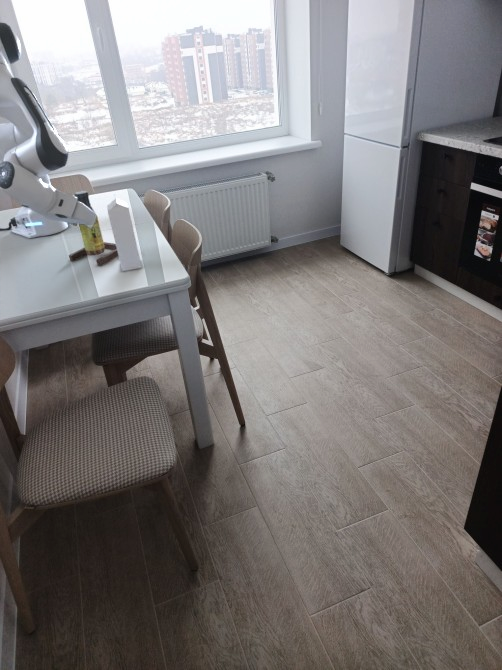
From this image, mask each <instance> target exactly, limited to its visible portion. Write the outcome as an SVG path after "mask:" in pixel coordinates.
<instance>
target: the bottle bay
mask: <svg viewBox="0 0 502 670" xmlns="http://www.w3.org/2000/svg"><path fill="white" fill-rule="evenodd" d="M103 242H104V246H105V247H104V248H105V250H110V252H108V253H106V254H104V255H103V256H101V257H99V258H97V259H95V262H96V265H97V266H98V267H101V266H104V265H105V264H107V263H109V262H110V261H112V260H114V259H116V258H117V257H119V256H118V251H117V247H116V243H115V242H106V241H103ZM86 255H87V253H86V250H85V247H84V246H83V247H82V248H81V249H78V250H77V251H75V252H72V253H71V254H68V258H69V261H70V262H75V261H76V260H78V259H81V258H82V257H84V256H86Z"/></svg>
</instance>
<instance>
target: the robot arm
mask: <svg viewBox="0 0 502 670" xmlns="http://www.w3.org/2000/svg"><path fill="white" fill-rule="evenodd" d="M21 57H22V46H21V42H20V39H19V37H18V35H17V34H16V32H15V31H14V30H13V29H12V27H11V26H10V25H9V24H8V23H5V22H0V118H3V119H6V120H7V121H9V122H3V123H0V162H1V163H0V190H1V191H2V192H3V193H4V194H5V195H6V196H8V197H10V198H11V199H12V200H14V201H16V202H17V203H19V204H21V207H20V209H19V210H18V212H17V213H15V216H14V217H12V218H11V219H10V221H9V222H8V227H6V228H1V227H0V232H1V231H2V232H3V231H10V230H11V232H12V233H14V234H16V235H20V236H22V237H25V238H28V239H34V238H38V237H45V236H50V235H51V236H52V235H55V234H58V233H61V232H63V231H65V230H66V229H68V227H69V225H71V226H73V227H77V226H78V225H79V224H84V226H86V227H88V228H92V226H93V224H94V222H95V219H96V215H97V213H96V212H95V211H94V212H93V211H92V210H91V209H90V208H88V207H87V206H86V205H84V204H83V203H81V202H79V201H77V197H75V194H71V193H67V192H64V191H61V190H59V189H57V188H55V187H54V186H53V185H52V183H51V179H50V176H49V174H50V173H51V172H55V171H57V170H59V169H62V168H64V167H65V166H66V165H67V164H68V161H69V160H68V159H69V147H68V146H67V144H66V142H65V141H64V139H63V137H61V135H60V134H59V133H58V131H57V129H56V128H55V126H54V125H53V123H52V122H51V120H50V118H49V117H48V115H47V114H46V112H45V110H44V109H43V107H42V105H41V103H40V102H39V100H38V99H37V97H36V95H35V93H34V92H33V91H32V89H31V88H30V86H28V84H27V83H26V82H25V81H23V79H21V78H19V77H15V76H14V75H13V73H12V71H11V70H10V66H9V65H8V64H10V65H13V64H14V63H17V62H18V61H19V60H20V59H21ZM95 213H96V214H95ZM68 224H69V225H68Z"/></svg>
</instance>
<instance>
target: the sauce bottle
mask: <svg viewBox="0 0 502 670" xmlns="http://www.w3.org/2000/svg"><path fill="white" fill-rule="evenodd" d="M74 196H75V197H77V201H79V202H81V203H83V204H84V205H86V206H87V207H88V208H90V209H91V210H92V211H93V212H95V210H94V208H93V206H92V205H91V202H90V198H89V196H90V195H89V192H88V191H87V190H79V191H76V192H74ZM95 214H96V219H95V222H94V224H93V226H92V228H88V227H86V226H84V224H78V227H79V231H80V235H81V239H82V243H83V248H84V247H85V250H86V253H87V254H86V255H87V256H90V257H94V256H95V257H96V256H100V255H102V254H103V253H105V251H106V249H105V248H104V247H105V246H104V242H105V241H104V238H103V234H102V230H101V226H100V221H99V217H98V215H97V213H96V212H95Z"/></svg>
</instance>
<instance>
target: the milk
mask: <svg viewBox="0 0 502 670" xmlns="http://www.w3.org/2000/svg"><path fill="white" fill-rule="evenodd" d="M106 208H107V215H108V219H109V222H110V226H111V227H110V228H111V230H112V231H111V232H112V235H113V239H114V244H116V247H117V251H118V256H117V257H118V259H119V263H120V267H121V271H122V272H127V271H132V270H138V269H141V268H142V263H141V258H140V254H139V249H138V245H137V241H136V236H135V231H134V226H133V222H132V217H131V212H130V208H129V205H128V202H126V201H124V200H122V199H118V198H117V197H116V195H114V199H113V200H112V201H111V202H110V203H108V204H107V206H106Z"/></svg>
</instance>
